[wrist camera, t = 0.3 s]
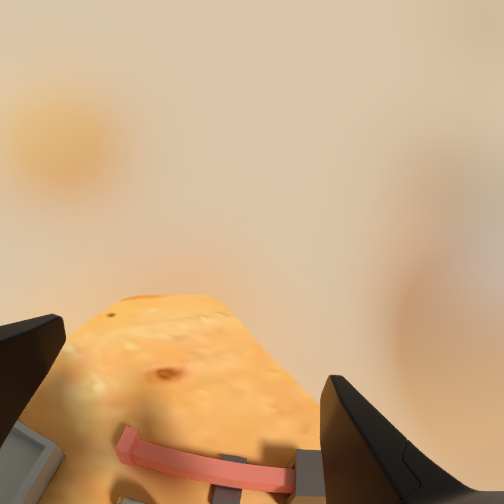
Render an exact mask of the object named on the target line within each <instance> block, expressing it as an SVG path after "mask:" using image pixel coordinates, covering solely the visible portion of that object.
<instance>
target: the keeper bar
mask: <svg viewBox="0 0 504 504" xmlns="http://www.w3.org/2000/svg"><path fill="white" fill-rule="evenodd" d="M115 450H116V452H117V454H118V457H119V459H120V461H121V463H124V464H126V465H129V466H132V467H133V465H134V463H136V464H139V465H142V466H145V467H148V468H151V469H154V470H158V471H161V472H165V473H168V474H172V475H176V476H180V477H184V478H188V479H192V480H196V481H201V482H206V483H211V484H216V485H221V486H227V487H233V488H240V489H247V490H255V491H264V492H275V493H290V494H291V493H292V491H293V490H294V477H295V469H288V468H276V467H266V466H258V465H250V464H243V463H236V462H230V461H224V460H219V459H214V458H209V457H204V456H199V455H195V454H190V453H186V452H182V451H178V450H174V449H170V448H167V447H163V446H160V445H156V444H153V443H149V442H146V441H143V440H141V439H140V435H139V432H138V430H137V429H134V428H131V427H128V426H126V427H125V429H124V431H123V433H122V435H121V437H120V439H119V441H118V443H117V445H116V447H115Z"/></svg>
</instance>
